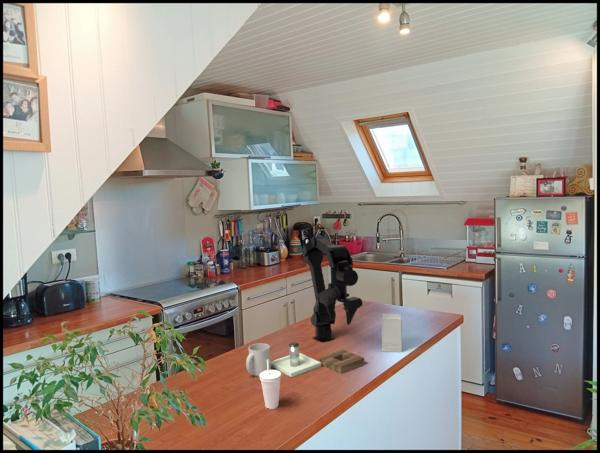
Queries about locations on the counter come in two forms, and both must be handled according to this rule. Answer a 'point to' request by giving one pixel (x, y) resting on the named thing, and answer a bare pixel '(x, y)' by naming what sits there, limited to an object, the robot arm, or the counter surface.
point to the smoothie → (270, 386)
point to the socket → (342, 361)
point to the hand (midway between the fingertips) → (340, 321)
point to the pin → (294, 354)
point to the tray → (290, 371)
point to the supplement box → (391, 333)
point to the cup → (258, 358)
